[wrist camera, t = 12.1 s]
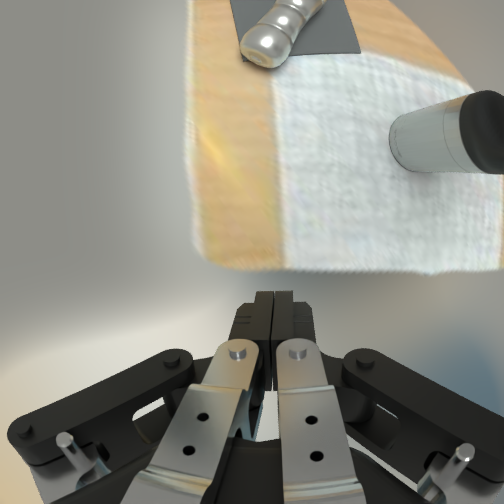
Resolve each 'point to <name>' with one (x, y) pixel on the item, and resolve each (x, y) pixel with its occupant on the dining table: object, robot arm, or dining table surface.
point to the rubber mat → (305, 27)
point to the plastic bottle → (277, 31)
